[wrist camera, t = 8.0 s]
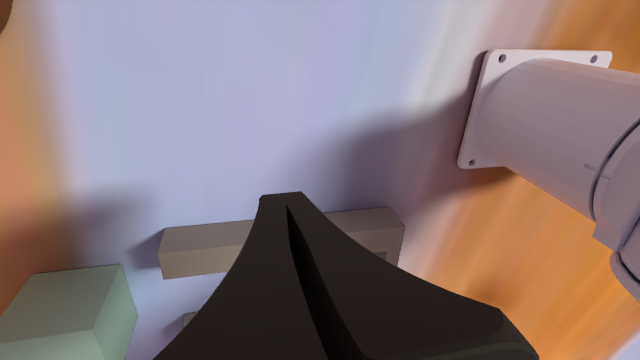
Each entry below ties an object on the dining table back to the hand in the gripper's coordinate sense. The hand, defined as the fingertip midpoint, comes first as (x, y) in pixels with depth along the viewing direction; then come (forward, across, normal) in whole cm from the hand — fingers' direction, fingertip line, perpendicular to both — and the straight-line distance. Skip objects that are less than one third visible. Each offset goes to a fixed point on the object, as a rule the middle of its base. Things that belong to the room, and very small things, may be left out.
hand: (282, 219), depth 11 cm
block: (+10, +12, +12) cm, 20 cm away
